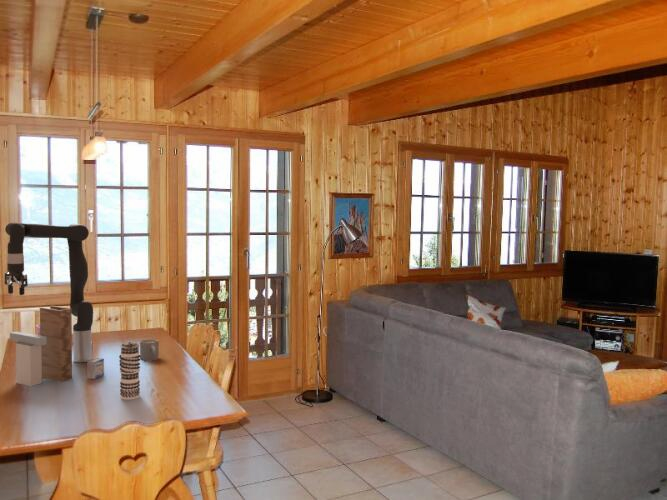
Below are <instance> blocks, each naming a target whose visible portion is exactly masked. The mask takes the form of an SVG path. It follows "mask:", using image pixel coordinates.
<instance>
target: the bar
mask: <svg viewBox="0 0 667 500" xmlns="http://www.w3.org/2000/svg"><path fill="white" fill-rule="evenodd" d="M9 340H10V341H12V342H22V343H28V344H33V345H38V346H41V345H46V344H47V337H45V336H39V335H38V334H35V333H34V334H33V333H27V332H22V331H12V332H9Z"/></svg>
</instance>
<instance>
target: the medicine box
mask: <svg viewBox="0 0 667 500" xmlns="http://www.w3.org/2000/svg"><path fill="white" fill-rule="evenodd" d="M86 363H87V365H86V367H87V369H86V371H87V372H86V373H87V379H88V380H89V379H90V380H96V379H99V378H101V377H103V376H104V375H105V359H104V358H103V357H102V358H101V357H96V358H93V359H92V360H91V361H88V362H86Z"/></svg>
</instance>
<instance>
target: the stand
mask: <svg viewBox="0 0 667 500" xmlns="http://www.w3.org/2000/svg"><path fill="white" fill-rule="evenodd" d="M49 307H50V308H48V307H39V324H40V336H45V337H47V344H46V345H41V361H42V379H48V380H51V381H56V382H64V381H67V380H71V379H73V326H72V325H73V321H72V316H73V315H72V309H71V308H70V307H62V306H56V305H50V306H49Z"/></svg>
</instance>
